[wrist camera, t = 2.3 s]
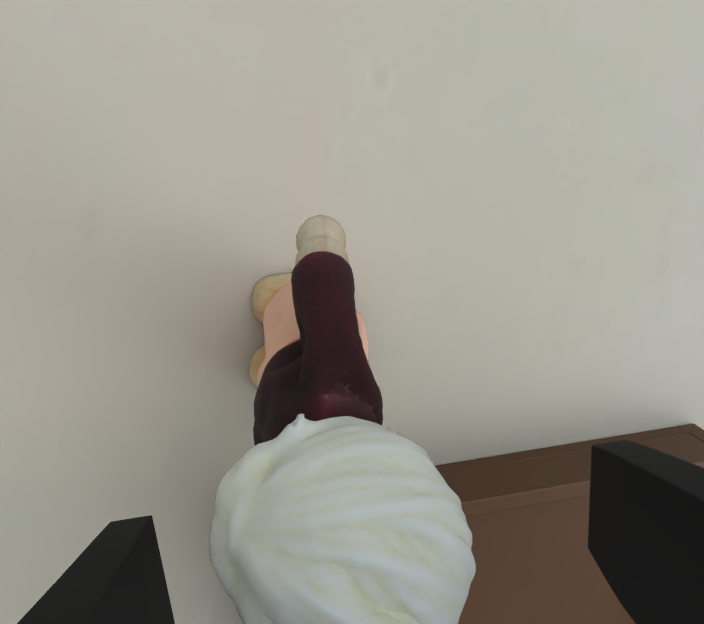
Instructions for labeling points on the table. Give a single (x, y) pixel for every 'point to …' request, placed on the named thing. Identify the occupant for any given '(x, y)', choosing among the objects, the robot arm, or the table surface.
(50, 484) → the table surface
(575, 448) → the tray
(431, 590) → the grandmother figurine
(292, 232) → the table surface
